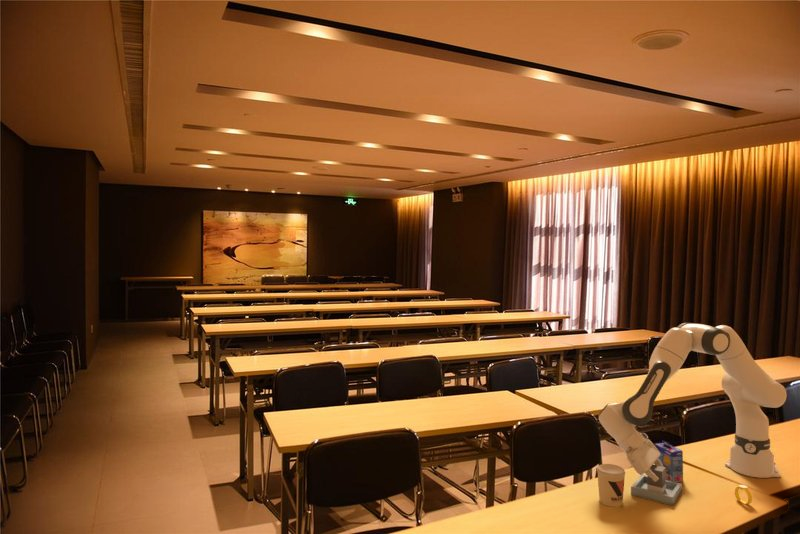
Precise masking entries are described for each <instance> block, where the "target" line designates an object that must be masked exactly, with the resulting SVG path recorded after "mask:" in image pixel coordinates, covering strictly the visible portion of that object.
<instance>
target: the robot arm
mask: <svg viewBox="0 0 800 534" xmlns="http://www.w3.org/2000/svg"><path fill="white" fill-rule="evenodd" d="M691 351H692V352H696V353H702V354H708V355H712V356H716V357H715V358H716V359H717V360H718V362H719V364H720V365H721V366H722V369H723V370H724V371H725V374H724V376H722V378H721V388H722V389H723V392H725V394H726V395H727V396H728V398H729V400H730V402H731V403H732V407H733V409H734V414H735V424H736V425H735V434H734V444H733V445H731V446H730V450H729V459H728V461H725V463H724V466H725V467H727V468H728V469H731V470H732V471H734V472H736V473H738V474H741V475H744V476H747V477H753V478H760V479H764V478H767V479H768V478H780V477H781V473H780V470H779V468H778V466H777V464H776V462H775V454H773V452H772V451H771V449H770V448H771V439H770V438H769V437H770V435H769V434H770V430H769V429H770V427H769V426H770V422H769V417H768V416H767V415H766V414H765V413H764V412H763V410H762V409H761V407H765V408H774V409H775V408H777V409H778V408H780V407H782V406H783V405H784V404H785V403H786V400H787V390H786V388H785V386H784V385H782V384H781V383H779V382H777V380H775V379H773V377H771V376H770V375H769V374H768V373H767V372H766V371H765V370H764V369H763V368H762V367H761V366H760V365H759V364H758V363H757V362H756V361H755V359H754V358H753V356H752V355H751V353H750V352H749V350H748V349H747V347H746V345H745V343H744V342H743V339H742V338H741V337H740V336H739V334H738V333H737V332H736V331H735V330H734V329H733V328H732V327H731V326H728V325H725V324H721V325H717V326H711V325H707V324H703V323H693V322H684V323H683V322H682V323H681V324H679V325H678V326H676V327H671V328H670V329H669V330H668V331H666V333H665V334H664V335H663V336H662V337H661V339H659V341H658V343H657V345H656V346H655V347H654V349H653V351H652V353H651V355H650V359H649V362H648V366H649V368H648V372H647V375H646V376H645V378H644V380H643V382H642V384H641V386H640V387H639V389H638V391H637V392H636V393H635V394H633V395H632V396H630V397H629V398H627V399H626V400H625V401H621V402H614V403H612V402H610V403H606V405H605V406H604V407H603V408H602V409H601V410H600V412H599V414H598V420H599V423H600V424H601V426H602V427H603V428H604V430H605V432H607V433H608V435H610V437H612V438H613V439H614V440H615V442H616V444H617V445H618V446H619V447H620V449H621V450H622V452H624V453H625V454H626V459H627V461H628V462H629V464H630V465H631V466H632V468H633V469H634V471H635V472H636V473H637V474H638V475H640V476H641V475H647V476H649V477H650V478H652V479H653V480H654V481H655V482H656V481H657V480H658V479H659V477H658V476H657V475H656V474H654V473H653V472H652V470H651V469H650V467H651V466H652V465H655V464H656V465H657V466H662V467H663V465H662V463H661V461H660V460H659V459H658V458H659V457H660V452H659V451H658V449H657V448H656V447H655V443H653V442H652V441H651V439H649V436H648V434H646V433H645V432H639V431H638V430H637V429H636V427H637V426H643V425H646V424H647V423H649V422H650V421H651V419H652V417H653V413H654V403H655V401H656V399H657V397H658V395H659V394H660V392H661V390H662V388H663V387H664V385H665V384H666V382H668V380H670V379H671V378H672V377H673V376H675V375H676V373H677V372H678V371H679V370H680V369H681V367H682V366H683V364H684V363H685V361H686V359H687V357H688V355H689V353H690V352H691Z"/></svg>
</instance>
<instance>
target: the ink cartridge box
mask: <svg viewBox="0 0 800 534" xmlns="http://www.w3.org/2000/svg"><path fill="white" fill-rule="evenodd" d="M654 446H655V447H656V448H657V449H658V451H659V452H660V457H659V458H658V459H659V460H660V461H661V463H662V465H663V467H666V480H667V481H672V482H676V483H681V482H684V460H683V457H684V455H683V454H684V453H683V450H682V449H680V448H677V447H675V446H673V445H672V444H670V443H669V442H667V441H665V440H663V439H662V440H661V442H658V443H657V442H655V443H654ZM654 465H656V464H654Z"/></svg>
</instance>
